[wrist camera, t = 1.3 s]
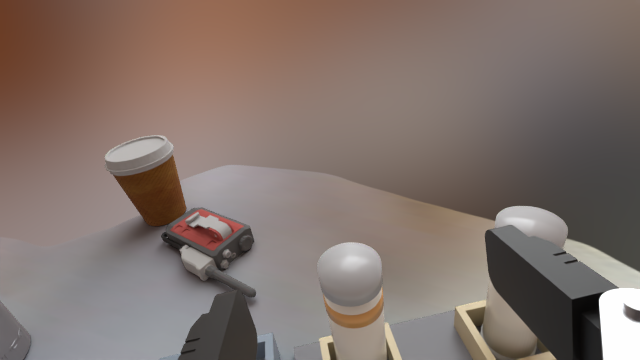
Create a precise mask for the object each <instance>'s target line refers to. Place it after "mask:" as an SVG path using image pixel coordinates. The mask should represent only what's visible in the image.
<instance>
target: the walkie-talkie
mask: <svg viewBox="0 0 640 360" xmlns="http://www.w3.org/2000/svg"><path fill="white" fill-rule="evenodd" d="M161 237H162V239H163V241H165V242H166V243H168V244H170V245H172V246H174V247H176V248H178V249H179V251H180V253H181V255H182V261H183V264H184V266H185V268H186V269H187V270H188V271H190V272H192V273H193V274H195V275H197V276H199V277H200V279H201V280H203V281H205V280H207V279H208V278H209V277H210V278H212V279H216V280H218V281H220V282H222V283H224V284H225V285H227V286H229V287H231V288H232V289H234V290H238V289H239V290H241V291H242V293H243V294H244V295H246V296H248V297H254V296H255V295H256V291H255V289H253V288H251V287H249V286H247V285H246V284H244V283H242V282H240V281H238V280H236V279H234V278H232V277H231V276H229V275H227V274H225V273H223V272H221V271H219V270H222V269H223V268H228V266H229V263H230V262H231V261H232V260H233V259H235V258H236V257H237V256H238V255H239V254H240V253H242V252H243V251H247V250H249V249H250V248H251V246H252V244H253V242H254V238H253V235H252V232H251V229H250V226H248V225H246V224H243V223H241V222H238V221H236V220H233V219H230V218H227V217H224V216H222V215H219V214H217V213H214V212H212V211H210V210H207V209H205V208H193V209H191V210H190V211H188V212H187V213H185V214H184V215H182V216H181V217H179V218H178V219H176V220H175V221H173V222H172V223H170V224H169V225H168V226H167V228H166V232H164V233H163V234H162V235H161ZM166 237H168V238H166Z"/></svg>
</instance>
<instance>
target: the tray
mask: <svg viewBox="0 0 640 360" xmlns="http://www.w3.org/2000/svg"><path fill="white" fill-rule="evenodd" d="M257 340H258V347H257V355H256V360H280V355H279V350H278V347H277V344H276V341H275V338H274V335H273V333H268V334H264V335H260V336H257ZM180 355H181V354H177V355H172V356H168V357H164V358H160V360H178V358H179V356H180Z"/></svg>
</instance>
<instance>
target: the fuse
mask: <svg viewBox="0 0 640 360" xmlns="http://www.w3.org/2000/svg"><path fill="white" fill-rule="evenodd" d="M507 225H513V226H515V227H516V228H518V229H519V230H520V231H522V232H523V233H524V234H526V235H527V236H528V237H531V236H536V237H539V238H542V239H545V240H548V241H551V242H553V243H554V244H556V245H557V246H559V247H560V248H562V249H564V245H565V241H566V237H567V234H568V228H567V226H566V224H565V223H564V221H563V220H562V219H560V218H559V217H558V216H556V215H554V214H553V213H551V212H549V211H546V210H543V209H540V208H535V207H530V206H514V207H509V208H506V209H504V210H502V211H501V212H500V213H498V215H497V217H496V222H495V228H499V227H503V226H507ZM480 335H481V336H482V338H483V340H484V341H485V343H486V344H487V346H488V348H489V349H490V351H491V352H492V354H493V355H494V357H495V359H496V360H516V359H520V358H525V357H529V356H533V355H535V352H536V348H537V337H536V336H535V334H534V333H533V332H532V331H531V330H530V329H529V328H528V326H527V325H526V324H525V323H524V322H523V321H522V320H521V319H520V317H519V316H518V315H517V314H516V313H515V312H514V311H513V310H512V308H511V307H510V306H509V305H508V304H507V303H506V302H505V300H504V299H503V298H502V297H501V296H500V295H499V294H498V293H497V291H496V290H495V288H494V286H493V284H492V282H491V280H490V277H489V284H488V292H487V299H486V306H485V313H484V321H483V324H482V327H481V332H480Z"/></svg>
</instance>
